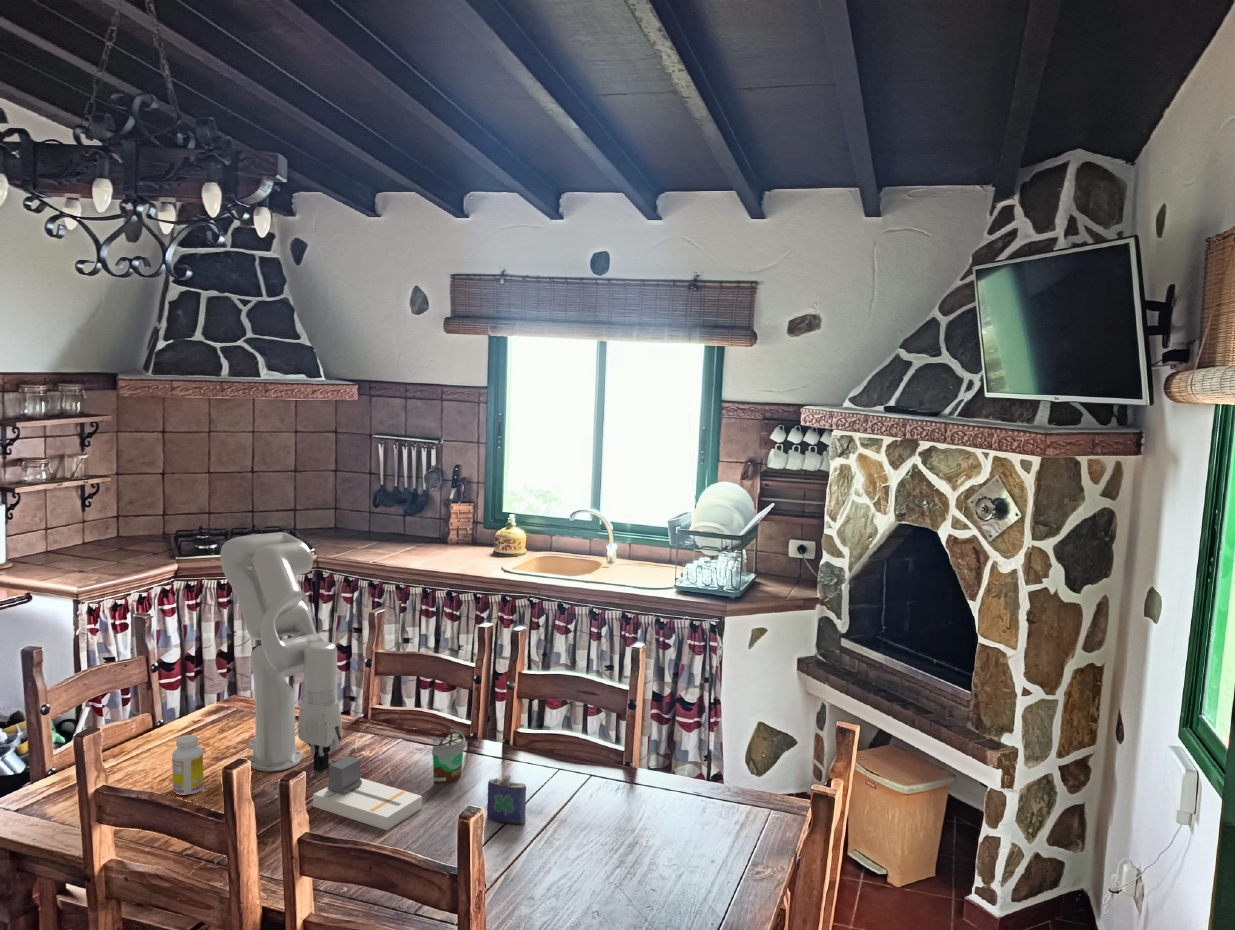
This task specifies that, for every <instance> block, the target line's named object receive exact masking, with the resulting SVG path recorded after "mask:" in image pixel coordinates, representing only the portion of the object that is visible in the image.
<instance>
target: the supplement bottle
mask: <svg viewBox="0 0 1235 930" xmlns="http://www.w3.org/2000/svg"><path fill="white" fill-rule="evenodd" d="M175 743H176V744H175V745H176V747H177V748H176V749H174V751H173V752H172V755H171V757H172V760H171V761H172V763H171V764H172V767H171V768H172V789H173V793H174V792H176V793H178V794H193V793H196V794H198V793H200V792H201V791H203V789H204V786H205V784H204V781H205V780H204V778H205V777H204V750H203V748H202V747H201V746H200V745H198V743H199V737H198V736H197V735H193V734H191V735H190V734H189V735H183V736H180V737H178V738H176V741H175ZM199 791H200V792H199ZM197 792H198V793H197ZM193 795H194V794H193Z"/></svg>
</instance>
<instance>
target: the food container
mask: <svg viewBox="0 0 1235 930" xmlns="http://www.w3.org/2000/svg"><path fill="white" fill-rule="evenodd" d="M466 747H467V741H466V738H465V735H464V733H463V732H461V731H460V730H457V729H452V728H449V733H448V735H446V736H445V737H443V738H441V739H440V742H439V743H438V744H437V745H435V746H434V745H433V746H432V749H431V755H432V767H433V768H432V770H433V773H432V774H433V784H434V785H446V784H451V783H453V782H456V781H458V780H459V779H461V777H462V770H463V769H462V768H463V766H462V765H463V757H464V750H465V748H466Z"/></svg>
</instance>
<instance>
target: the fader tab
mask: <svg viewBox="0 0 1235 930" xmlns="http://www.w3.org/2000/svg"><path fill="white" fill-rule="evenodd" d="M360 778H361V759H359V758H355V757H352V756H349V755H346V756H345V757H343V758H341V759H339V760H337V761H334V762H332V763H330V764H328V784H327V786H326V787H327V789H328V790H331V791H334V792H338V793H341V794H345V793H347V792H349V791H351V790H353V789H354V788H356V787H358V786H360V785H362V780H360Z"/></svg>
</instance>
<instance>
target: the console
mask: <svg viewBox="0 0 1235 930" xmlns="http://www.w3.org/2000/svg"><path fill="white" fill-rule="evenodd" d="M360 780H362V785H360V786H358V787H356V788H354V789H353V790H351V791H349V792H347V793H345V794H341V793H338V792H334V791H331V790H328V789H327V786H326V787H324V788H322V789H320V790H318V791H316V792H314V793H313V794H312V795H313V796H312V799H313V800H312V807H314V808H317V809H320V810H323V811H325V812H329V813H332V814H335V815H338V816H341V817H344V818H348V819H351V820H354V821H356V822H360V823H363V824H366V825H369V826H372V827H376V828H379V829H381V830H384V831H389V830H390V829H392V828H393V827H395V826H396V825H397V824H399V823H401V822H403V821H404V820H406V819H407V818H408V817H411V816H413V815H414V814H415V813H417V812H418V811H420V810H423V809H422V808H423V796H422V795H420V794H416V793H414V792H410V791H406V790H403V789H399V788H396V787H392V786H390V785H386V784H382V783H379V782H375V781H372V780H369V779H365V778H362V777H360Z"/></svg>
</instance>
